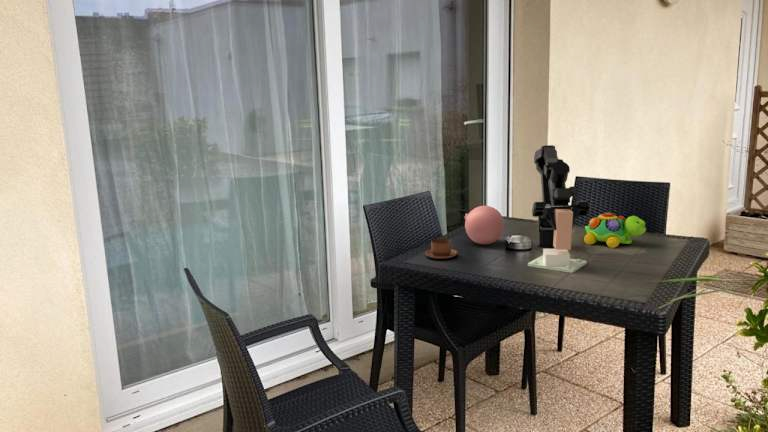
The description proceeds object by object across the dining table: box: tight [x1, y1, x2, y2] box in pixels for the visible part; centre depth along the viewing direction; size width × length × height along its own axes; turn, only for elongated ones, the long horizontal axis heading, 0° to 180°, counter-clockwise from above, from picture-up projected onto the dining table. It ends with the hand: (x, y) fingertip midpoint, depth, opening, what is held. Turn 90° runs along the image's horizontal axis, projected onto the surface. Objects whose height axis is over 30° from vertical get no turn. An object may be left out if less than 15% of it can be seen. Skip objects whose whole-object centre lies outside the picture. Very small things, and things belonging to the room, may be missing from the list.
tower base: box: [527, 248, 588, 274], centre depth 220 cm, size 16×13×5 cm
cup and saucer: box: [424, 238, 458, 260], centre depth 236 cm, size 12×12×6 cm
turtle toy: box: [583, 212, 647, 249], centre depth 246 cm, size 17×23×12 cm
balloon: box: [463, 205, 505, 246], centre depth 253 cm, size 15×20×15 cm
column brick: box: [553, 209, 573, 251], centre depth 215 cm, size 5×5×13 cm
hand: (563, 229), depth 214 cm, fingers closed on column brick, 5 cm apart
